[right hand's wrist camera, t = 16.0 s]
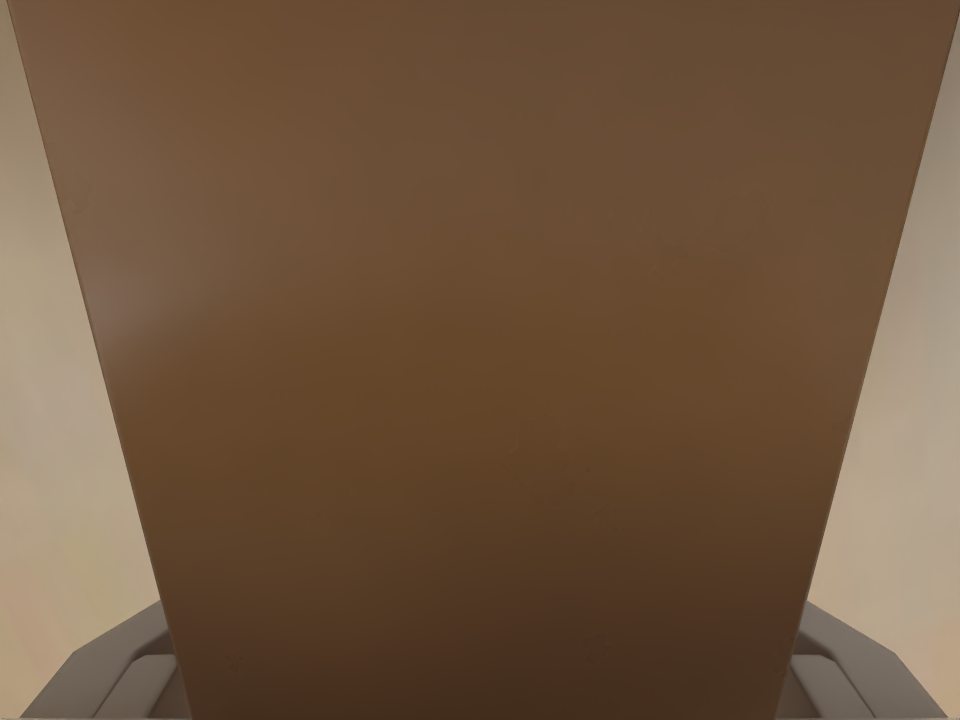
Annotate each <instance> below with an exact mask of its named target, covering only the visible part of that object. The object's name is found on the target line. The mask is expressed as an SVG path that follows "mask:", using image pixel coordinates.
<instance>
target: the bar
mask: <svg viewBox="0 0 960 720" xmlns="http://www.w3.org/2000/svg"><path fill="white" fill-rule="evenodd" d="M7 4H8V8H9V12H10V15H11V19H12V23H13V27H14V31H15V35H16V39H17V43H18V47H19V50H20V54H21V58H22V62H23V66H24V70H25V74H26V78H27V82H28V85H29V89H30V93H31V97H32V101H33V105H34V109H35V113H36V117H37V120H38V124H39V128H40V132H41V136H42V140H43V144H44V148H45V152H46V155H47V159H48V163H49V167H50V171H51V175H52V179H53V183H54V187H55V190H56V194H57V198H58V202H59V206H60V210H61V214H62V218H63V222H64V225H65V229H66V233H67V237H68V241H69V245H70V249H71V253H72V257H73V260H74V264H75V268H76V272H77V276H78V280H79V284H80V288H81V291H82V295H83V299H84V303H85V307H86V311H87V315H88V319H89V323H90V326H91V330H92V334H93V338H94V342H95V346H96V350H97V354H98V358H99V361H100V365H101V369H102V373H103V377H104V381H105V385H106V389H107V393H108V396H109V400H110V404H111V408H112V412H113V416H114V420H115V424H116V428H117V431H118V435H119V439H120V443H121V447H122V451H123V455H124V459H125V463H126V466H127V470H128V474H129V478H130V482H131V486H132V490H133V494H134V498H135V501H136V505H137V509H138V513H139V517H140V521H141V525H142V529H143V533H144V536H145V540H146V544H147V548H148V552H149V556H150V560H151V564H152V568H153V571H154V575H155V579H156V583H157V587H158V591H159V595H160V599H161V603H162V606H163V610H164V614H165V618H166V622H167V626H168V630H169V634H170V638H171V641H172V645H173V649H174V653H175V657H176V661H177V665H178V669H179V673H180V676H181V680H182V684H183V688H184V692H185V696H186V700H187V704H188V708H189V711H190V715H191V719H192V720H776V716H777V712H778V708H779V704H780V701H781V697H782V693H783V689H784V685H785V681H786V677H787V674H788V670H789V666H790V662H791V658H792V654H793V651H794V647H795V643H796V639H797V635H798V631H799V627H800V624H801V620H802V616H803V612H804V608H805V604H806V601H807V597H808V593H809V589H810V585H811V581H812V577H813V574H814V570H815V566H816V562H817V558H818V554H819V551H820V547H821V543H822V539H823V535H824V531H825V528H826V524H827V520H828V516H829V512H830V508H831V504H832V501H833V497H834V493H835V489H836V485H837V481H838V478H839V474H840V470H841V466H842V462H843V458H844V454H845V451H846V447H847V443H848V439H849V435H850V431H851V428H852V424H853V420H854V416H855V412H856V408H857V405H858V401H859V397H860V393H861V389H862V385H863V381H864V378H865V374H866V370H867V366H868V362H869V358H870V355H871V351H872V347H873V343H874V339H875V335H876V331H877V328H878V324H879V320H880V316H881V312H882V308H883V305H884V301H885V297H886V293H887V289H888V285H889V282H890V278H891V274H892V270H893V266H894V262H895V258H896V255H897V251H898V247H899V243H900V239H901V235H902V232H903V228H904V224H905V220H906V216H907V212H908V208H909V205H910V201H911V197H912V193H913V189H914V185H915V182H916V178H917V174H918V170H919V166H920V162H921V159H922V155H923V151H924V147H925V143H926V139H927V135H928V132H929V128H930V124H931V120H932V116H933V112H934V109H935V105H936V101H937V97H938V93H939V89H940V85H941V82H942V78H943V74H944V70H945V66H946V62H947V59H948V55H949V51H950V47H951V43H952V39H953V36H954V32H955V28H956V24H957V20H958V16H959V12H960V0H7Z"/></svg>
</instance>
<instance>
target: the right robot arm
mask: <svg viewBox="0 0 960 720" xmlns="http://www.w3.org/2000/svg"><path fill="white" fill-rule="evenodd" d="M0 720H192V719H191V715H190V711H189V708H188V704H187V700H186V696H185V692H184V688H183V684H182V680H181V676H180V673H179V669H178V665H177V661H176V657H175V653H174V649H173V645H172V641H171V638H170V634H169V630H168V626H167V622H166V618H165V614H164V610H163V606H162V603H161V600H159V601H158V602H156V603H154V604H153V605H151V606H149V607H148V608H146V609H144V610H143V611H141V612H139V613H138V614H136V615H134V616H133V617H131V618H129V619H128V620H126V621H124V622H123V623H121V624H119V625H118V626H116V627H114V628H113V629H111V630H109V631H108V632H106V633H104V634H103V635H101V636H99V637H98V638H96V639H94V640H93V641H91V642H89V643H88V644H86V645H84V646H83V647H81V648H79V649H78V650H76V651H74V652H73V653H72V654H71V656H70V657H69V658H68V659H67V661H66V662H65V663H64V664H63V665H62V667H61V668H60V669H59V670H58V671H57V673H56V674H55V675H54V676H53V678H52V679H51V680H50V681H49V682H48V684H47V685H46V686H45V687H44V689H43V690H42V691H41V692H40V693H39V695H38V696H37V697H36V698H35V700H34V701H33V702H32V703H31V704H30V706H29V707H28V708H27V709H26V710H25V712H24V713H23V714H22V715H21V717H20V718H0ZM776 720H960V718H948V717H947V715H946V714H945V713H944V712H943V711H942V709H941V708H940V707H939V706H938V705H937V703H936V702H935V701H934V700H933V699H932V697H931V696H930V695H929V694H928V693H927V691H926V690H925V689H924V688H923V686H922V685H921V684H920V683H919V682H918V680H917V679H916V678H915V677H914V676H913V674H912V673H911V672H910V671H909V670H908V668H907V667H906V666H905V665H904V664H903V662H902V661H901V660H900V659H899V658H898V656H897V655H896V654H895V653H894V652H892V651H890V650H889V649H887V648H885V647H884V646H882V645H880V644H879V643H877V642H875V641H874V640H872V639H870V638H869V637H867V636H865V635H864V634H862V633H860V632H859V631H857V630H855V629H854V628H852V627H850V626H849V625H847V624H845V623H844V622H842V621H840V620H839V619H837V618H835V617H834V616H832V615H830V614H829V613H827V612H825V611H823V610H822V609H820V608H818V607H817V606H815V605H813V604H812V603H810V602H808V601H806V604H805V608H804V612H803V616H802V620H801V624H800V627H799V631H798V635H797V639H796V643H795V647H794V651H793V654H792V658H791V662H790V666H789V670H788V674H787V677H786V681H785V685H784V689H783V693H782V697H781V701H780V704H779V708H778V712H777V716H776Z"/></svg>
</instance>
